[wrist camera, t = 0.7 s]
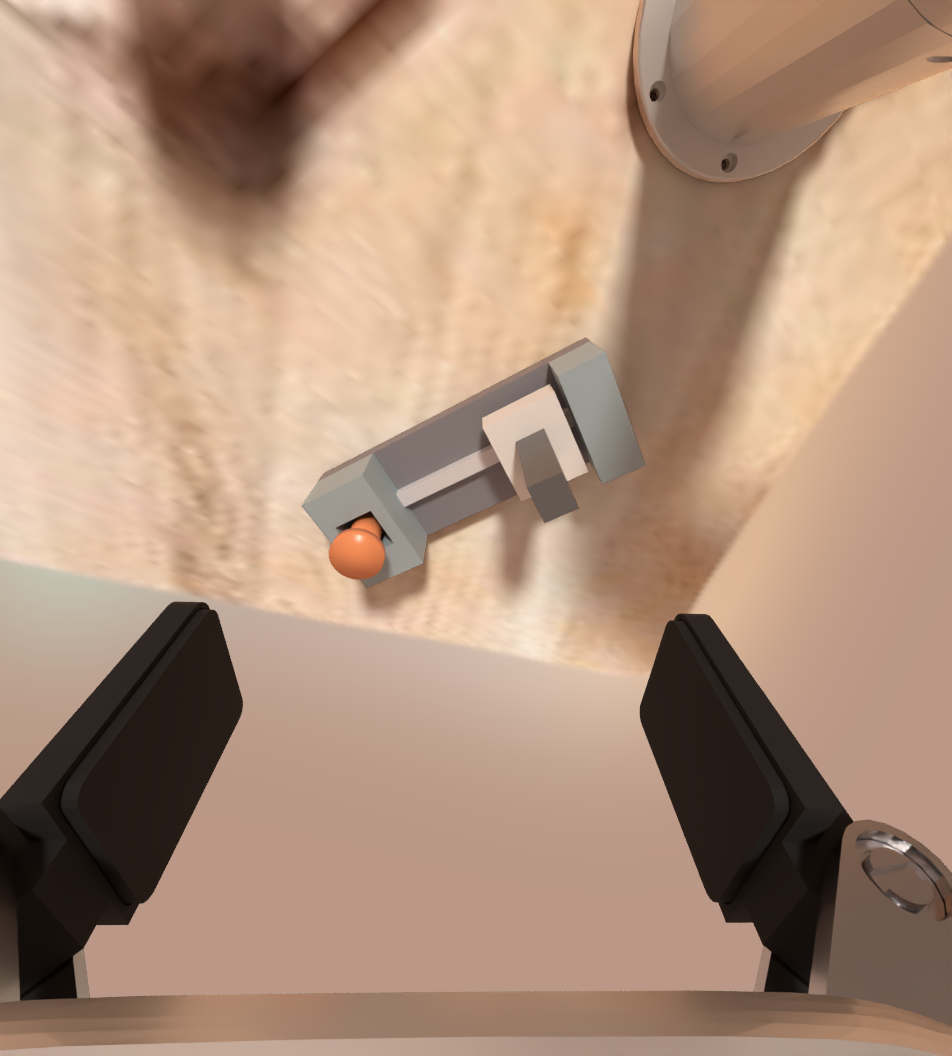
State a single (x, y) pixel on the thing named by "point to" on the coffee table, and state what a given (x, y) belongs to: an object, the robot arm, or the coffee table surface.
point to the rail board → (470, 458)
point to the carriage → (537, 451)
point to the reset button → (359, 548)
